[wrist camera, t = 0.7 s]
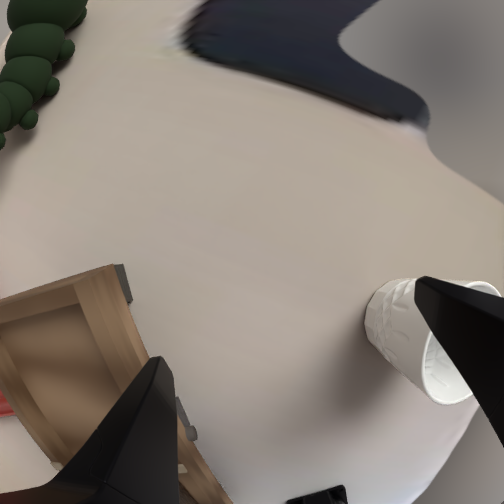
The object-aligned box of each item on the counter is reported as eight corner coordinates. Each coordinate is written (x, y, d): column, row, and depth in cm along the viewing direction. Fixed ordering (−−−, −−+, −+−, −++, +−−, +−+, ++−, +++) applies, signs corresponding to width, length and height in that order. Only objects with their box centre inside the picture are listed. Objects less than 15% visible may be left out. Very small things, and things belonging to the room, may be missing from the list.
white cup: (339, 320, 23) (398, 361, 13) (400, 252, 23) (479, 253, 13) (389, 374, 23) (451, 424, 13) (443, 311, 24) (517, 333, 14)
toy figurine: (57, 162, 24) (126, -20, 21) (-96, 121, 5) (77, -118, 3) (2, 162, 23) (68, -7, 21) (-123, 138, 4) (7, -82, 2)
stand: (230, 503, 23) (229, 525, 19) (147, 507, 22) (141, 527, 19) (134, 260, 22) (116, 262, 19) (43, 288, 22) (20, 292, 18)
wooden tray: (242, 505, 22) (246, 536, 18) (133, 510, 21) (128, 537, 17) (123, 259, 17) (94, 277, 12) (-6, 300, 16) (-39, 319, 12)
